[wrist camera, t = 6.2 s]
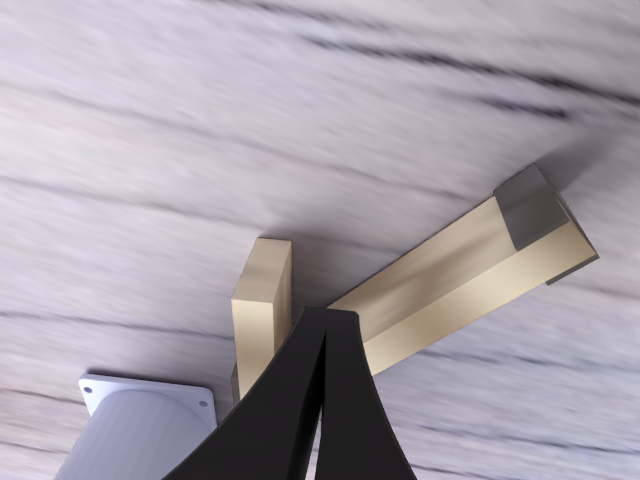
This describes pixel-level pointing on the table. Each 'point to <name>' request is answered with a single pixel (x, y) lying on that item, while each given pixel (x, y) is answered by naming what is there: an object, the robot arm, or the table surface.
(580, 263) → the bar
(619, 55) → the table surface
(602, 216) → the table surface
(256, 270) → the tong pivot
